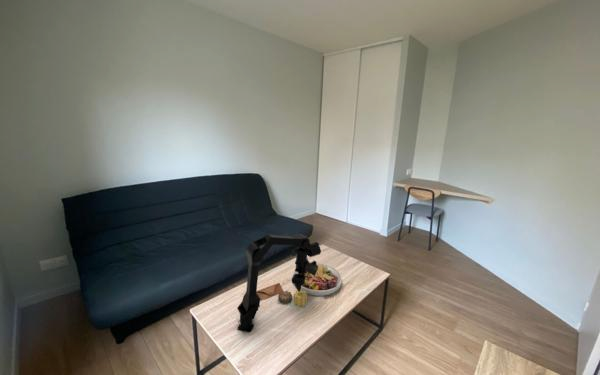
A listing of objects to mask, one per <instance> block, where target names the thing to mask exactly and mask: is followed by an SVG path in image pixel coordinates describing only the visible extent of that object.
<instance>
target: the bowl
mask: <svg viewBox="0 0 600 375" xmlns="http://www.w3.org/2000/svg"><path fill="white" fill-rule="evenodd" d="M317 265H318V270H317V272H316V274H315V276H314V275H312V274H310V273H308V272H307V273H305V283H304V284H303V285H302V286H301V290H302V291H303V292H304V291H305V292H306V294H307V295H310V296H318V297H319V296H324V297H325V296H329V295H333V294H334V293H335V292H337V290H339V288H340V287H341V285H342V282H343V276H342V274H341V272H340V271H339V270H337V269H336V268H335V267H333V266H331V265H328V264H326V263H325V264H324V263H319V262H317ZM294 274H299V273H298V272H296V271H295V269H294V270H293V272H292V276H293V275H294Z"/></svg>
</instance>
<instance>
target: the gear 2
mask: <svg viewBox="0 0 600 375" xmlns="http://www.w3.org/2000/svg"><path fill="white" fill-rule="evenodd" d="M299 294H301V296H299ZM307 295H308V294H307V293H306V292H305V291H304V292H303V291H302V290H300V292H299V291H298V290H297V289H296V290H295V291H294V293H293V296H294V304H295V305H298V306H299V307H300V306H304V305H305V304H306V298H307ZM299 307H298V308H299Z"/></svg>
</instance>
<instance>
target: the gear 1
mask: <svg viewBox="0 0 600 375" xmlns="http://www.w3.org/2000/svg"><path fill="white" fill-rule="evenodd" d="M277 296H278V297H277V298H278V300H277V301H279V303H282V304H289V302H290V303H291V300H292V296H293V294H292V292H291V291H288V290H285V291H284V290H283V291H282V292H280V293H279V294H278V295H277Z"/></svg>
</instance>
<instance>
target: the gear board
mask: <svg viewBox="0 0 600 375" xmlns="http://www.w3.org/2000/svg"><path fill="white" fill-rule="evenodd" d="M299 296H301V294H299ZM308 299H309V298H306V304H305V305H304V306H300V307H299V306H298V305H295V304H294V295H292V300H291V303H290V302H289V304H282V303H279V301H278V300H277V301H276V304H277V305H281V306H289V307H295V308H299V309H300V308H301V309H306V308H307V304H308Z"/></svg>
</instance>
